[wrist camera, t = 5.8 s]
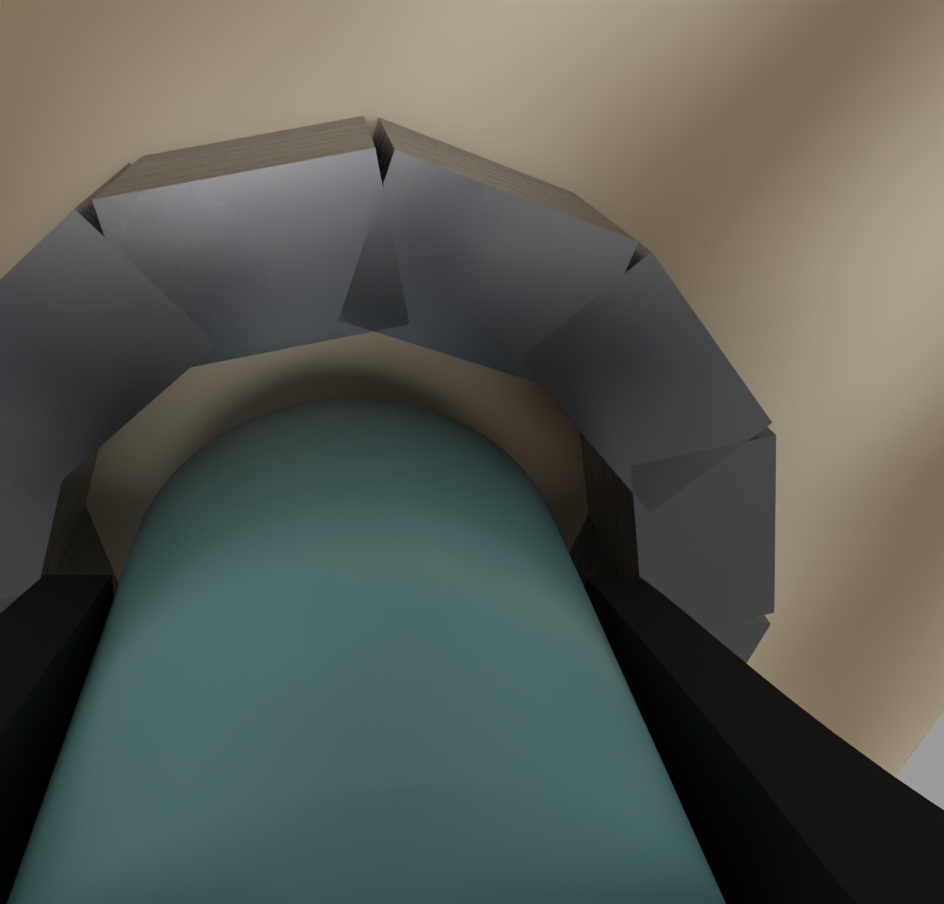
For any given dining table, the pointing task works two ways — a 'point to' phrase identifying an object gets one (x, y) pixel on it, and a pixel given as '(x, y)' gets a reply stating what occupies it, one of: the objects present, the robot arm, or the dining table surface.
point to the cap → (356, 691)
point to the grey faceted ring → (393, 314)
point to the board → (628, 206)
